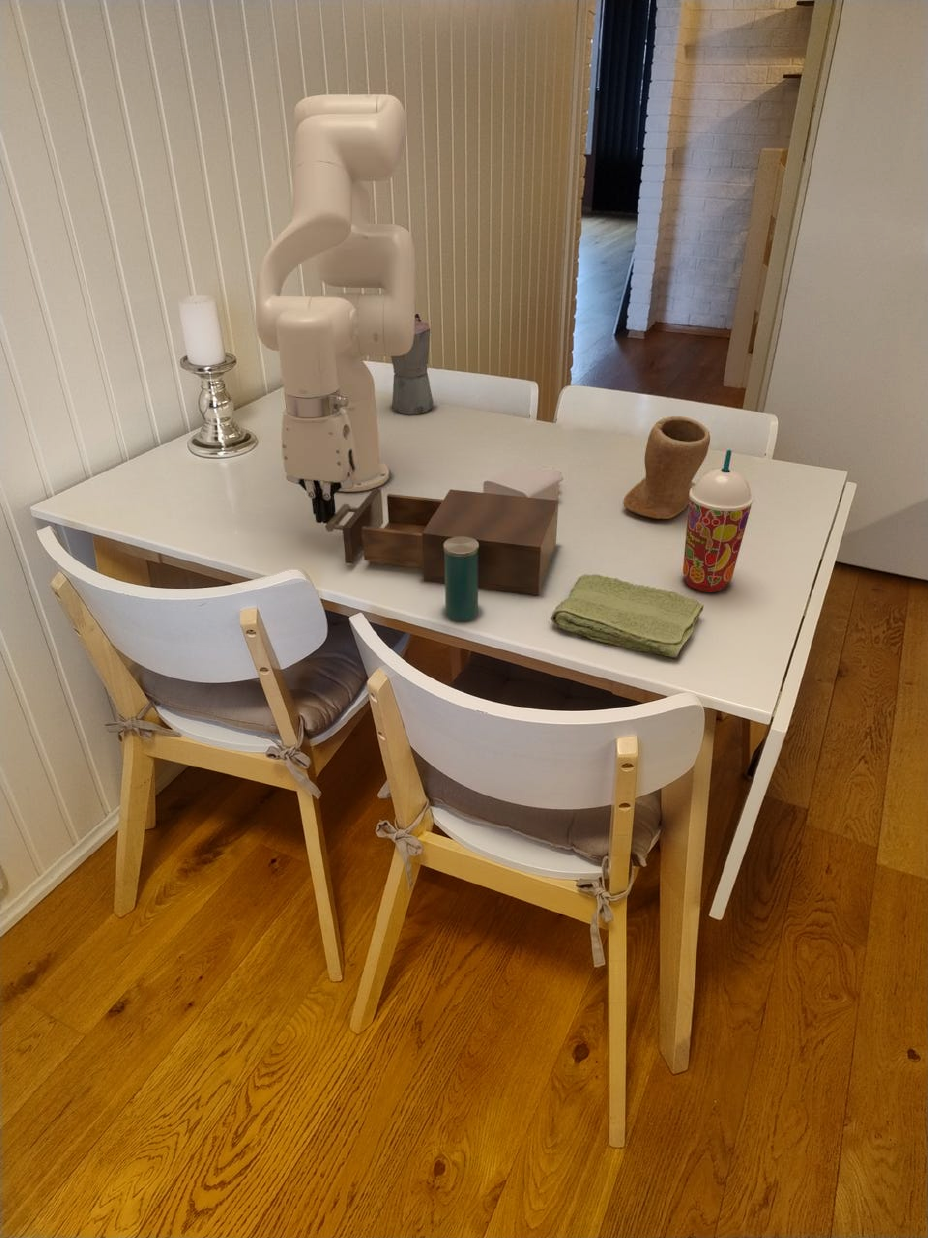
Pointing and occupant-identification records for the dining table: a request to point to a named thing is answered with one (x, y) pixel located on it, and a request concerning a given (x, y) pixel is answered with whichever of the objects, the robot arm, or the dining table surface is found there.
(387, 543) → the drawer
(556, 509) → the cabinet
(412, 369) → the moka pot
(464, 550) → the tin
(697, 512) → the smoothie
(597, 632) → the washcloth
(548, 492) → the open book
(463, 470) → the dining table surface
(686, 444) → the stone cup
